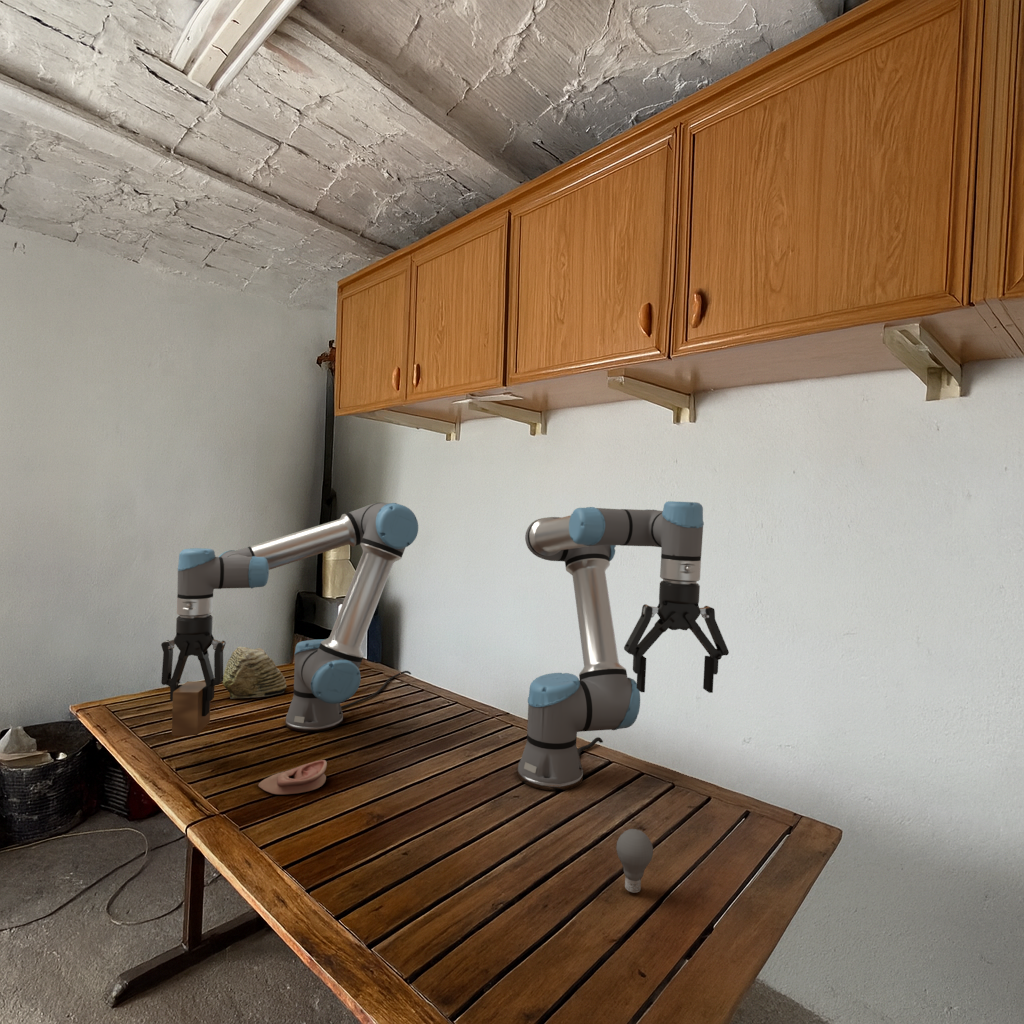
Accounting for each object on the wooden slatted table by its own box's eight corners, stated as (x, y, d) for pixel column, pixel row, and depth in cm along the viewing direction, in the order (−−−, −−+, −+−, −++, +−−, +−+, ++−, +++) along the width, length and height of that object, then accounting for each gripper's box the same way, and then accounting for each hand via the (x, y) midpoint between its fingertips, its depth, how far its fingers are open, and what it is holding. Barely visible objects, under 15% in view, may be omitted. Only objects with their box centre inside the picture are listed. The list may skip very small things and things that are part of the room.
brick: (171, 735, 143) (172, 692, 143) (186, 722, 151) (187, 681, 151) (196, 735, 144) (198, 692, 144) (209, 722, 152) (211, 681, 152)
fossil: (218, 695, 195) (220, 647, 195) (278, 685, 208) (279, 640, 207) (228, 703, 189) (230, 653, 188) (289, 692, 201) (290, 645, 201)
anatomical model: (250, 772, 134) (280, 751, 146) (249, 790, 135) (280, 768, 146) (307, 780, 132) (333, 759, 143) (306, 799, 132) (333, 776, 143)
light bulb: (610, 879, 108) (613, 822, 108) (644, 879, 109) (647, 822, 109) (619, 902, 102) (622, 840, 102) (655, 901, 103) (658, 840, 103)
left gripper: (145, 617, 142) (142, 720, 143) (231, 618, 144) (228, 719, 145) (159, 611, 150) (156, 708, 150) (241, 612, 152) (238, 708, 152)
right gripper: (622, 582, 117) (617, 696, 117) (750, 585, 120) (744, 696, 121) (611, 577, 125) (606, 684, 125) (731, 580, 128) (726, 685, 128)
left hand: (191, 714), depth 148 cm, fingers closed on brick, 5 cm apart
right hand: (674, 690), depth 123 cm, fingers open, 13 cm apart
